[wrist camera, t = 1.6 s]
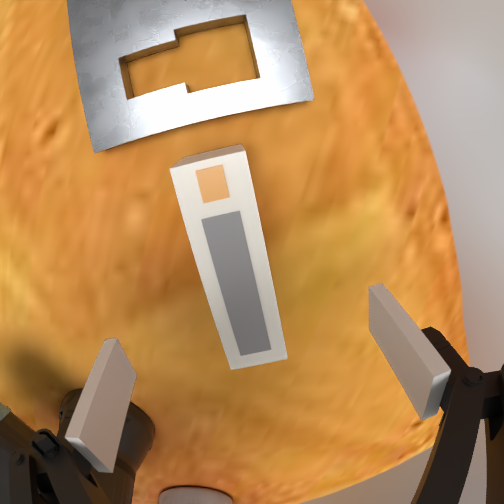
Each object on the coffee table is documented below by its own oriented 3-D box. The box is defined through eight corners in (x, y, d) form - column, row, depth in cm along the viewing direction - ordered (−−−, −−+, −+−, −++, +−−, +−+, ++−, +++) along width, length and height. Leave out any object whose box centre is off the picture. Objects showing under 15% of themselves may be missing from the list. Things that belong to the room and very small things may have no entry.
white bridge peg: (229, 304, 34) (231, 372, 24) (188, 152, 28) (168, 169, 18) (271, 295, 34) (288, 361, 24) (239, 141, 27) (245, 151, 18)
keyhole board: (104, 150, 27) (94, 153, 24) (73, -42, 18) (64, -50, 15) (307, 101, 26) (314, 99, 24) (255, -89, 17) (257, -102, 15)
